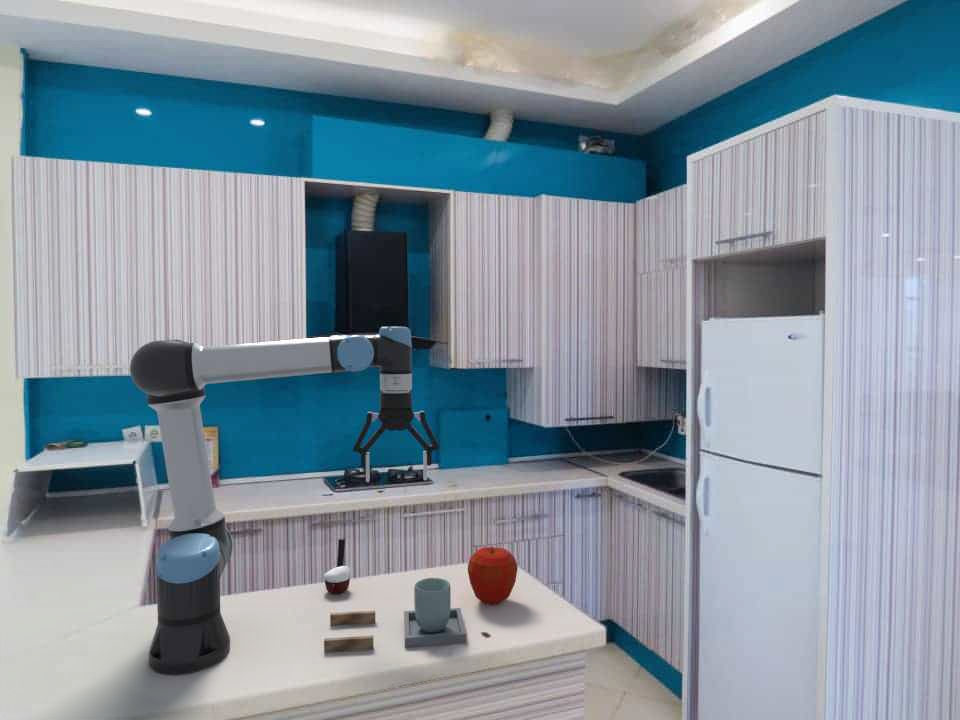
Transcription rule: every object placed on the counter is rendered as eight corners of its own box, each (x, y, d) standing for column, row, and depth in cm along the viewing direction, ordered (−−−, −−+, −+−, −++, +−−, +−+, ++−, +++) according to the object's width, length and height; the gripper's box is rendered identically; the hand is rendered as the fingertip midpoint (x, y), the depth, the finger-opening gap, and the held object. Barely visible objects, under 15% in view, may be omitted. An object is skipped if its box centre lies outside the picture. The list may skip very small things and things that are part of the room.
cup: (432, 617, 145) (432, 575, 145) (457, 628, 140) (457, 583, 139) (407, 630, 139) (407, 585, 139) (432, 641, 134) (432, 594, 134)
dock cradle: (404, 647, 132) (404, 638, 132) (404, 619, 145) (404, 611, 145) (466, 643, 134) (466, 634, 134) (460, 616, 147) (460, 607, 147)
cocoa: (337, 601, 156) (337, 554, 155) (316, 596, 159) (316, 550, 157) (359, 585, 165) (359, 541, 164) (339, 581, 167) (339, 537, 166)
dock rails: (324, 652, 130) (324, 640, 130) (330, 624, 143) (330, 613, 143) (373, 649, 131) (373, 637, 131) (375, 621, 144) (375, 610, 144)
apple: (479, 617, 146) (479, 557, 146) (459, 597, 157) (459, 541, 157) (526, 607, 151) (526, 549, 151) (504, 589, 162) (504, 535, 162)
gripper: (341, 393, 145) (342, 485, 146) (449, 392, 148) (449, 481, 149) (343, 390, 152) (344, 478, 153) (447, 389, 156) (447, 474, 156)
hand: (396, 480), depth 151 cm, fingers open, 13 cm apart
